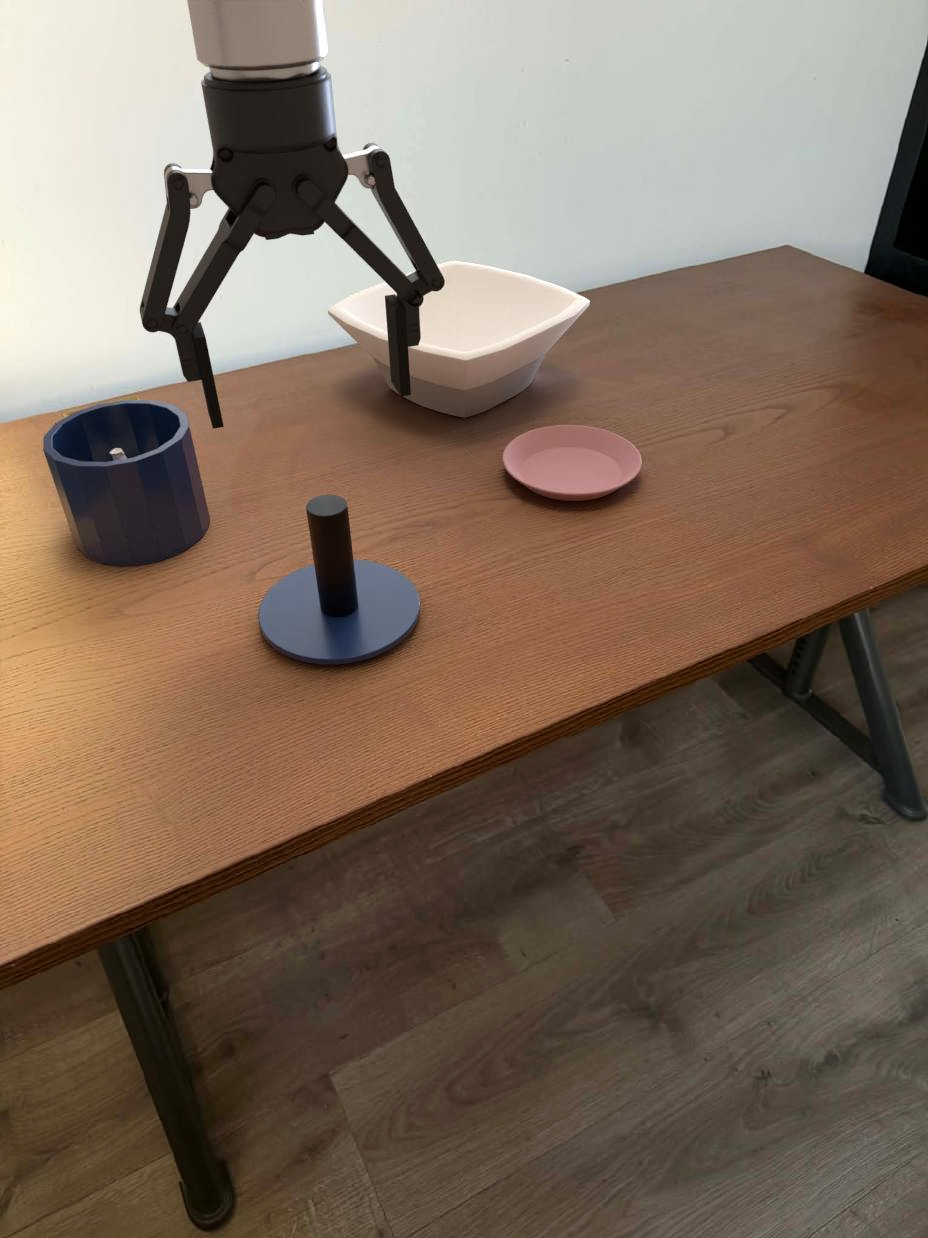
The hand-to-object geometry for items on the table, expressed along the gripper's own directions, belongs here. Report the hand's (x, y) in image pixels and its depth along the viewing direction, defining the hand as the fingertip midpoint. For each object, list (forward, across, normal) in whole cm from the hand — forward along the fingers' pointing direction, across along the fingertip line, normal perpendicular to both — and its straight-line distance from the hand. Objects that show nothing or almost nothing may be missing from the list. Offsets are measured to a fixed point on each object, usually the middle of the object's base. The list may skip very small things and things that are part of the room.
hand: (310, 403), depth 68 cm
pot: (+20, +15, -20) cm, 31 cm away
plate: (+20, -28, -14) cm, 37 cm away
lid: (+19, 0, 0) cm, 19 cm away
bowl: (+20, -24, -38) cm, 50 cm away
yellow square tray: (+20, +17, -41) cm, 48 cm away
